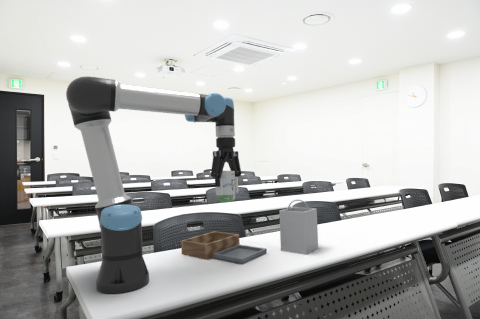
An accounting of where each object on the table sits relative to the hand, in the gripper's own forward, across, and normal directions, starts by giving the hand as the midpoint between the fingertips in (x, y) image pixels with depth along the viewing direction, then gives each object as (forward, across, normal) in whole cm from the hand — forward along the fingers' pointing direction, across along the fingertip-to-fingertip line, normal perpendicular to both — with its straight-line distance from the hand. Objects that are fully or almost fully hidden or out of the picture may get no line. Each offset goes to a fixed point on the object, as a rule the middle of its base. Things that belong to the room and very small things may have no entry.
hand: (227, 193), depth 128 cm
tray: (+24, 0, -6) cm, 24 cm away
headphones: (+24, +19, -21) cm, 37 cm away
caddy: (+24, +19, -21) cm, 37 cm away
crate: (+24, 0, +10) cm, 26 cm away
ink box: (+3, 0, 0) cm, 3 cm away
